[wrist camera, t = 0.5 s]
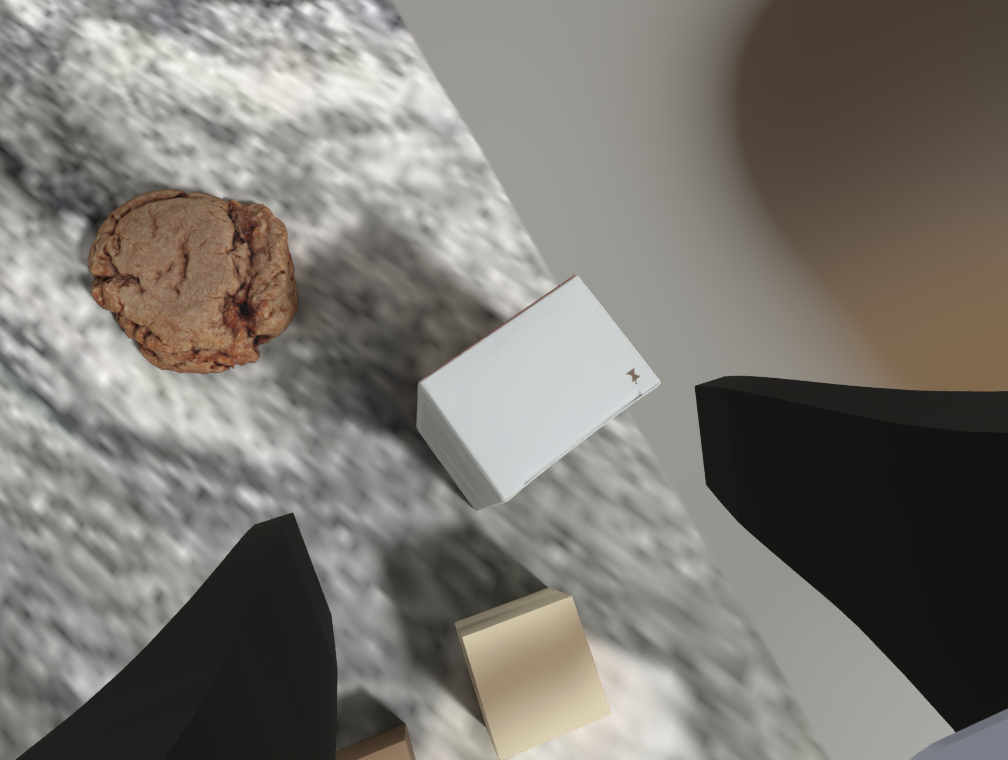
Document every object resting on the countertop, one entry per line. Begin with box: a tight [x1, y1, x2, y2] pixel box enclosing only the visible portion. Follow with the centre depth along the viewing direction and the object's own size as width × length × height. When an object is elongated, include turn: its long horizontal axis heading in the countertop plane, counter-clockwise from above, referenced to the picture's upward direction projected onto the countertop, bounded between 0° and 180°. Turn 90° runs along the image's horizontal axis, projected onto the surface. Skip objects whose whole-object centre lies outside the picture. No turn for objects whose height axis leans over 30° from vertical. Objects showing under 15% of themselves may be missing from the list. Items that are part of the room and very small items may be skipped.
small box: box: [416, 275, 661, 511], centre depth 29 cm, size 8×6×10 cm
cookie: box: [88, 189, 298, 374], centre depth 33 cm, size 10×11×3 cm
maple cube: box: [454, 588, 612, 760], centre depth 29 cm, size 5×5×5 cm
